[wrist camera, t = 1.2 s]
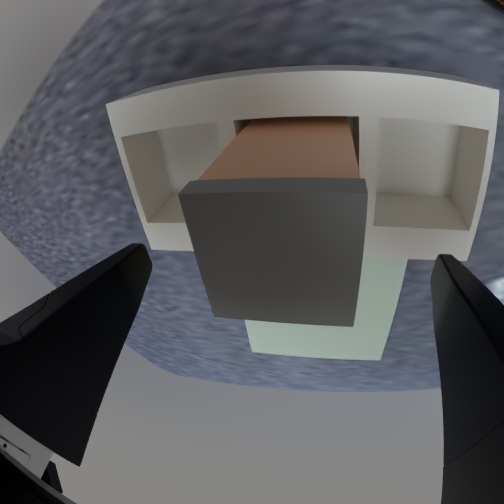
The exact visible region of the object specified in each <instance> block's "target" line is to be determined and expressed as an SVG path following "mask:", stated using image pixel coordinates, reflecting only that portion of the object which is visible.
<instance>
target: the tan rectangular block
mask: <svg viewBox="0 0 504 504" xmlns="http://www.w3.org/2000/svg"><path fill="white" fill-rule="evenodd" d="M178 196H179V200H180V204H181V207H182V211H183V215H184V218H185V222H186V225H187V229H188V232H189V236H190V239H191V243H192V246H193V249H194V253H195V256H196V259H197V263H198V266H199V269H200V273H201V276H202V279H203V282H204V286H205V289H206V292H207V295H208V298H209V301H210V304H211V308H212V311H213V314H214V317H223V318H232V319H243V320H253V321H265V322H277V323H290V324H305V325H321V326H341V327H353V326H354V320H355V314H356V307H357V300H358V293H359V286H360V278H361V270H362V261H363V251H364V241H365V230H366V217H367V202H368V191H367V186H366V181H365V179H363V178H360V174H359V169H358V164H357V158H356V153H355V149H354V144H353V139H352V135H351V130H350V126H349V121H348V117H347V116H295V117H272V118H256V119H252V120H251V121H250V122H249V123H248V124H247V125H246V127H245V128H244V129H243V130H242V131H241V132H240V133H239V134H238V135H237V136H236V137H235V138H234V139H233V140H232V142H231V143H230V144H229V145H228V146H227V147H226V148H225V149H224V150H223V151H222V153H221V154H220V155H219V156H218V157H217V158H216V159H215V160H214V161H213V163H212V164H211V165H210V166H209V167H208V168H207V169H206V171H205V172H204V173H203V174H202V175H201V176H200V177H199V179H198V180H194V181H189V182H188V184H187V185H186V186H185V187H184V188H183V189H182V190H181V192H180V193H179V194H178Z"/></svg>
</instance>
